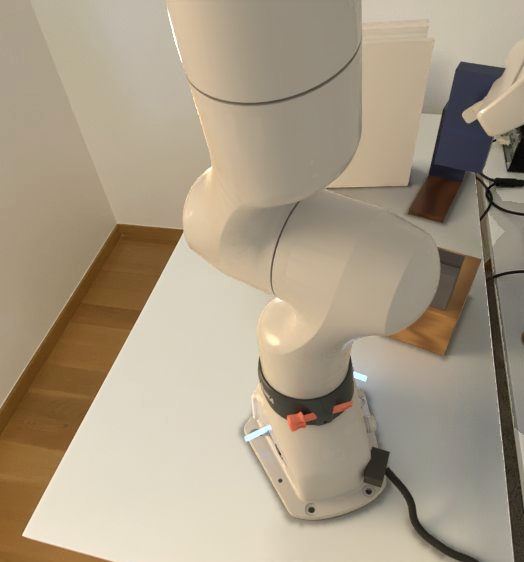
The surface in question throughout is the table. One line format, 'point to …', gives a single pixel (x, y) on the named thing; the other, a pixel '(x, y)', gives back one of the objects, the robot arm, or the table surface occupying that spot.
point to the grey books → (447, 278)
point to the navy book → (456, 132)
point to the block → (390, 102)
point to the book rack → (438, 187)
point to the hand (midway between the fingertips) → (469, 109)
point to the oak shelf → (442, 313)
